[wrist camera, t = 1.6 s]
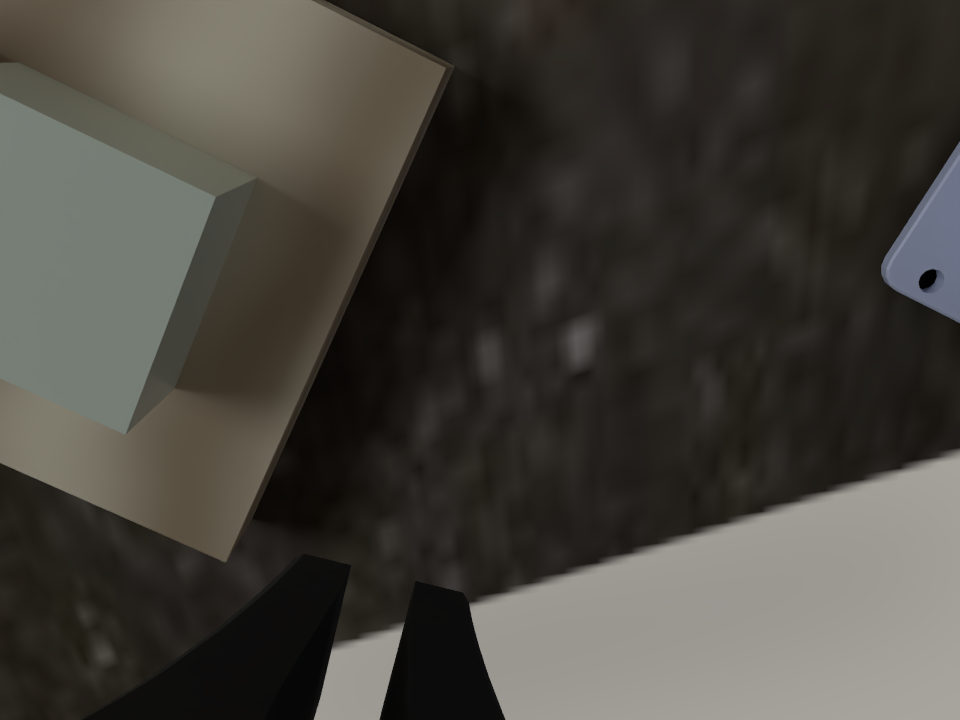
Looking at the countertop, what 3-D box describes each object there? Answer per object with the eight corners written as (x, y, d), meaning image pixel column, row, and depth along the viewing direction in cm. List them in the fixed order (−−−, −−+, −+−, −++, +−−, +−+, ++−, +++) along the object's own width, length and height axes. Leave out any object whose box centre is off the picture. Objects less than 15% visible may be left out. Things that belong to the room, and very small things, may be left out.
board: (455, 66, 19) (446, 67, 17) (251, 520, 23) (225, 562, 21) (-191, -261, 18) (-277, -297, 16) (-295, 276, 22) (-374, 297, 20)
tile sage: (257, 177, 18) (215, 196, 16) (174, 388, 20) (125, 434, 17) (19, 62, 18) (-61, 64, 15) (-47, 287, 19) (-128, 320, 17)
